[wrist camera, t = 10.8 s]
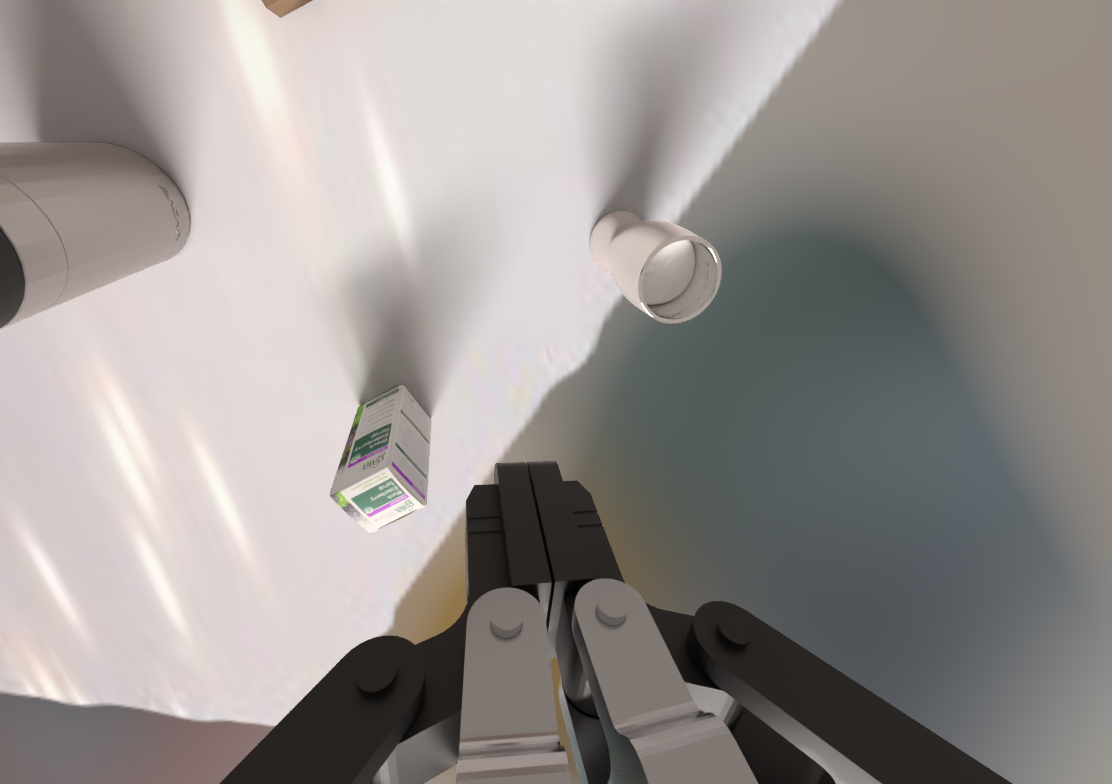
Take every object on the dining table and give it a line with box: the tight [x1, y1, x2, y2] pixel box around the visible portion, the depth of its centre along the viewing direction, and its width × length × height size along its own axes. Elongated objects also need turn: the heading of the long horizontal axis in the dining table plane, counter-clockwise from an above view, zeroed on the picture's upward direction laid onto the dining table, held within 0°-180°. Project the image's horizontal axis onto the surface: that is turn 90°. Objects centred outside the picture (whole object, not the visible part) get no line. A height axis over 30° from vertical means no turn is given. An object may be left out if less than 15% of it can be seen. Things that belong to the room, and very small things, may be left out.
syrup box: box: [330, 384, 431, 534], centre depth 45 cm, size 6×6×14 cm
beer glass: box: [590, 211, 722, 324], centre depth 40 cm, size 7×7×15 cm
